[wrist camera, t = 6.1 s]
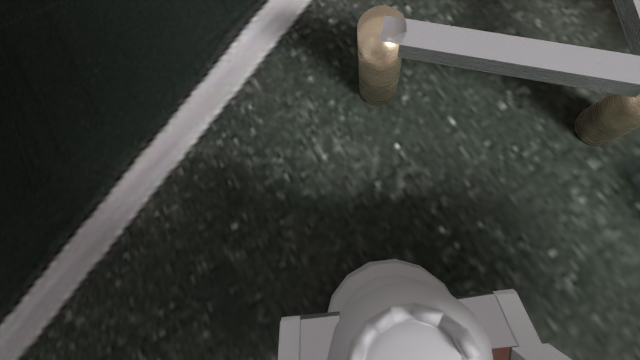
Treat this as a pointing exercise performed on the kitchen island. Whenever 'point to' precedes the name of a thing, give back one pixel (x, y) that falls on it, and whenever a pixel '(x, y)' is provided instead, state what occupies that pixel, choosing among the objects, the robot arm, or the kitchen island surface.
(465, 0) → the kitchen island surface
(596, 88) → the railing
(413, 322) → the rook chess piece
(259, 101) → the kitchen island surface
